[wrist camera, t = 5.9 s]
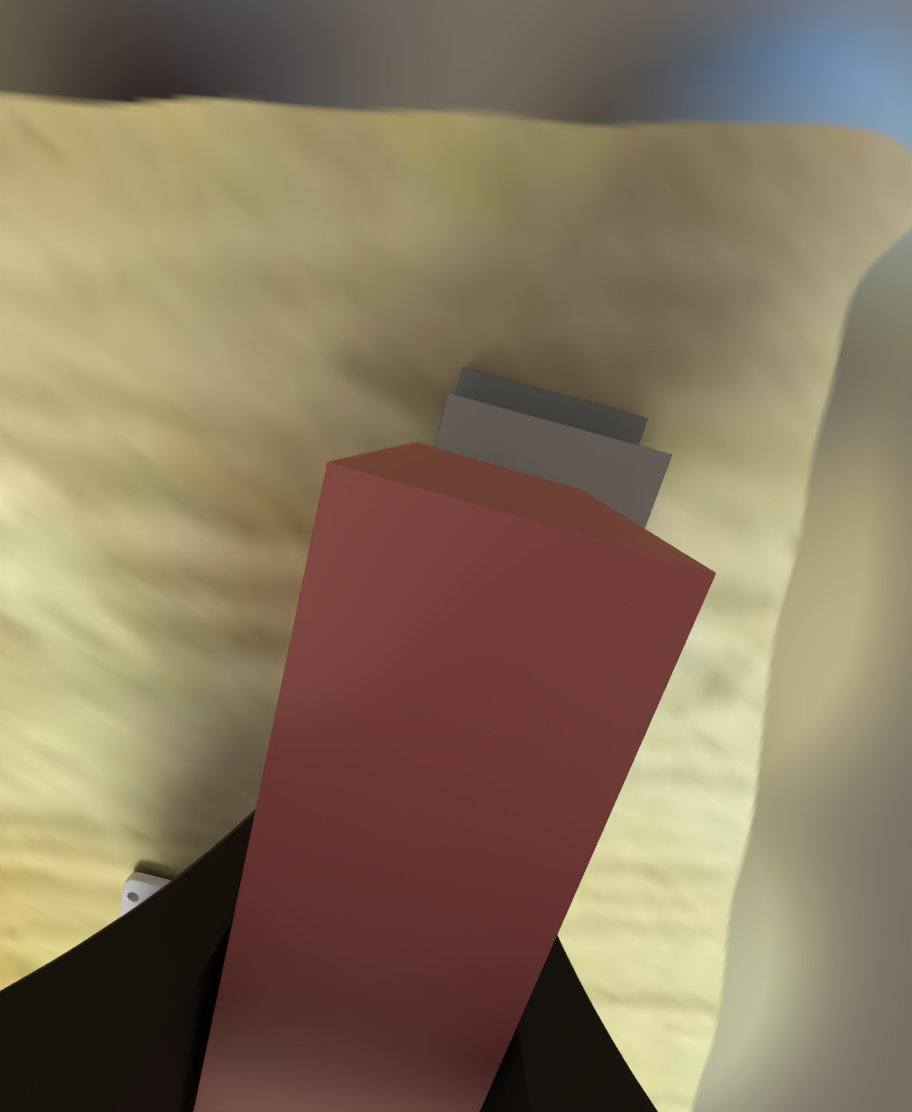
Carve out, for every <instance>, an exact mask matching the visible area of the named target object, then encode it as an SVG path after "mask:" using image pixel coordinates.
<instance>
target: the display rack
mask: <svg viewBox="0 0 912 1112" xmlns="http://www.w3.org/2000/svg"><path fill="white" fill-rule="evenodd" d="M647 420H648V418H645V417H641V416H638V415H634V414H630V413H627V412H623V411H620V410H616V409H612V408H609V407H605V406H601V405H598V404H594V403H590V402H587V401H583V400H580V399H576V398H572V397H569V396H565V395H561V394H558V393H554V392H550V391H547V390H543V389H540V388H536V387H532V386H529V385H525V384H521V383H518V382H514V381H511V380H507V379H503V378H500V377H496V376H492V375H489V374H485V373H481V372H478V371H474V370H471V369H467V368H462V372H461V376H460V380H459V384H458V388H457V392H456V395H453V394H449V393H448V395H447V399H446V403H445V407H444V411H443V415H442V419H441V423H440V428H439V432H438V436H437V440H436V444H435V448H438V449H442V450H445V451H449V452H452V453H456V454H459V455H463V456H466V457H470V458H473V459H477V460H480V461H484V462H487V463H491V464H494V465H498V466H501V467H505V468H508V469H511V470H515V471H518V472H522V473H525V474H529V475H532V476H536V477H539V478H543V479H546V480H550V481H553V482H557V483H560V484H564V485H567V486H571V487H574V488H578V489H581V490H583V491H584V492H586V493H588V494H589V495H591V496H592V497H594V498H596V499H597V500H599V501H600V502H602V503H604V504H605V505H607V506H609V507H610V508H612V509H613V510H615V511H617V512H618V513H620V514H621V515H623V516H625V517H626V518H628V519H630V520H631V521H633V522H634V523H636V524H638V525H639V526H641V527H642V528H644V529H645V526H646V524H647V521H648V518H649V516H650V513H651V510H652V507H653V505H654V502H655V499H656V497H657V494H658V491H659V489H660V486H661V483H662V481H663V478H664V475H665V473H666V470H667V467H668V464H669V462H670V459H671V456H672V454H668V453H665V452H661V451H657V450H654V449H650V448H646V447H643V446H639V442H640V440H641V437H642V434H643V431H644V428H645V425H646V423H647Z"/></svg>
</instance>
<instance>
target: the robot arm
mask: <svg viewBox="0 0 912 1112" xmlns="http://www.w3.org/2000/svg"><path fill="white" fill-rule="evenodd" d="M255 811H256V809H255V810H254V811H253V812H252V813H251V814H250V815H249V816H248V817H246V818H245V819H244V820H243V821H242V822H241V823H240V824H239V825H238V826H236V827H235V828H234V829H233V830H232V831H231V832H230V833H229V834H228V835H226V836H225V837H224V838H223V839H222V840H221V841H220V842H218V843H217V844H216V845H215V846H214V847H212V848H211V849H210V850H209V851H208V852H206V853H205V854H204V855H203V856H201V857H200V858H199V859H198V860H196V861H195V862H194V863H193V864H192V865H190V866H189V867H188V868H187V869H185V870H184V871H183V872H182V873H180V874H179V875H178V876H177V877H175V878H174V879H173V880H168V879H164V878H160V877H156V876H152V875H148V874H144V873H140V872H136V873H132V874H131V875H130V876H129V877H128V878H127V880H126V881H125V883H124V888H123V897H122V906H121V915H120V918H118V919H117V920H115V921H114V922H112V923H111V924H109V925H108V926H106V927H105V928H103V929H102V930H100V931H99V932H97V933H96V934H94V935H92V936H91V937H89V938H88V939H86V940H85V941H83V942H82V943H80V944H79V945H77V946H76V947H74V948H72V949H71V950H69V951H68V952H66V953H64V954H63V955H61V956H59V957H58V958H56V959H55V960H53V961H51V962H50V963H48V964H46V965H44V966H43V967H41V968H39V969H37V970H36V971H34V972H32V973H30V974H29V975H27V976H25V977H23V978H22V979H20V980H18V981H17V982H15V983H13V984H11V985H10V986H8V987H6V988H4V989H3V990H1V991H0V1112H194V1107H195V1102H196V1097H197V1093H198V1088H199V1083H200V1078H201V1073H202V1068H203V1063H204V1059H205V1054H206V1049H207V1044H208V1039H209V1034H210V1029H211V1025H212V1020H213V1015H214V1010H215V1005H216V1000H217V995H218V991H219V986H220V981H221V976H222V971H223V966H224V961H225V957H226V952H227V947H228V942H229V937H230V932H231V927H232V923H233V918H234V913H235V908H236V903H237V898H238V893H239V889H240V884H241V879H242V874H243V869H244V864H245V859H246V855H247V850H248V845H249V840H250V835H251V830H252V825H253V821H254V816H255ZM480 1112H658V1111H657V1110H656V1108H655V1107H654V1105H653V1104H652V1102H651V1100H650V1099H649V1097H648V1096H647V1094H646V1093H645V1091H644V1090H643V1088H642V1087H641V1085H640V1084H639V1082H638V1081H637V1079H636V1078H635V1076H634V1075H633V1073H632V1072H631V1070H630V1068H629V1067H628V1065H627V1063H626V1062H625V1060H624V1058H623V1057H622V1055H621V1053H620V1052H619V1050H618V1048H617V1047H616V1045H615V1043H614V1042H613V1040H612V1038H611V1037H610V1035H609V1033H608V1031H607V1030H606V1028H605V1026H604V1024H603V1023H602V1021H601V1019H600V1017H599V1016H598V1014H597V1012H596V1010H595V1009H594V1007H593V1005H592V1003H591V1001H590V999H589V997H588V996H587V994H586V992H585V990H584V988H583V986H582V984H581V982H580V980H579V978H578V976H577V974H576V972H575V970H574V968H573V966H572V964H571V962H570V960H569V958H568V956H567V954H566V952H565V950H564V948H563V946H562V944H561V942H560V940H559V937H558V935H557V936H556V939H555V941H554V943H553V946H552V948H551V950H550V952H549V955H548V957H547V959H546V961H545V964H544V966H543V968H542V971H541V973H540V975H539V977H538V980H537V982H536V984H535V986H534V989H533V991H532V993H531V996H530V998H529V1000H528V1002H527V1005H526V1007H525V1009H524V1012H523V1014H522V1016H521V1018H520V1021H519V1023H518V1025H517V1027H516V1030H515V1032H514V1034H513V1037H512V1039H511V1041H510V1043H509V1046H508V1048H507V1050H506V1052H505V1055H504V1057H503V1059H502V1062H501V1064H500V1066H499V1068H498V1071H497V1073H496V1075H495V1078H494V1080H493V1082H492V1084H491V1087H490V1089H489V1091H488V1093H487V1096H486V1098H485V1100H484V1103H483V1105H482V1107H481V1109H480Z"/></svg>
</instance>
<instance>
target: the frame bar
mask: <svg viewBox="0 0 912 1112" xmlns="http://www.w3.org/2000/svg"><path fill="white" fill-rule="evenodd" d="M715 574H716V573H715V572H714V571H712V570H710V569H709V568H707V567H705V566H704V565H702V564H701V563H699V562H697V561H696V560H694V559H693V558H691V557H689V556H688V555H686V554H684V553H683V552H681V551H680V550H678V549H676V548H675V547H673V546H672V545H670V544H668V543H667V542H665V541H663V540H662V539H660V538H659V537H657V536H655V535H654V534H652V533H651V532H649V531H647V530H646V529H644V528H642V527H641V526H639V525H638V524H636V523H634V522H633V521H631V520H630V519H628V518H626V517H625V516H623V515H621V514H620V513H618V512H617V511H615V510H613V509H612V508H610V507H609V506H607V505H605V504H604V503H602V502H600V501H599V500H597V499H596V498H594V497H592V496H591V495H589V494H588V493H586V492H584V491H583V490H581V489H578V488H574V487H571V486H567V485H564V484H560V483H557V482H553V481H550V480H546V479H543V478H539V477H536V476H532V475H529V474H525V473H522V472H518V471H515V470H511V469H508V468H505V467H501V466H498V465H494V464H491V463H487V462H484V461H480V460H477V459H473V458H470V457H466V456H463V455H459V454H456V453H452V452H449V451H445V450H442V449H438V448H435V447H432V446H428V445H425V444H421V443H418V442H415V443H411V444H406V445H402V446H397V447H393V448H388V449H384V450H379V451H375V452H370V453H366V454H361V455H357V456H352V457H348V458H344V459H339V460H335V461H330V462H327V466H326V471H325V476H324V481H323V486H322V490H321V495H320V500H319V505H318V510H317V515H316V520H315V524H314V529H313V534H312V539H311V544H310V549H309V554H308V558H307V563H306V568H305V573H304V578H303V583H302V588H301V592H300V597H299V602H298V607H297V612H296V617H295V622H294V626H293V631H292V636H291V641H290V646H289V651H288V656H287V660H286V665H285V670H284V675H283V680H282V685H281V690H280V694H279V699H278V704H277V709H276V714H275V719H274V724H273V728H272V733H271V738H270V743H269V748H268V753H267V758H266V762H265V767H264V772H263V777H262V782H261V787H260V792H259V796H258V801H257V806H256V811H255V816H254V821H253V825H252V830H251V835H250V840H249V845H248V850H247V855H246V859H245V864H244V869H243V874H242V879H241V884H240V889H239V893H238V898H237V903H236V908H235V913H234V918H233V923H232V927H231V932H230V937H229V942H228V947H227V952H226V957H225V961H224V966H223V971H222V976H221V981H220V986H219V991H218V995H217V1000H216V1005H215V1010H214V1015H213V1020H212V1025H211V1029H210V1034H209V1039H208V1044H207V1049H206V1054H205V1059H204V1063H203V1068H202V1073H201V1078H200V1083H199V1088H198V1093H197V1097H196V1102H195V1107H194V1112H480V1109H481V1107H482V1105H483V1103H484V1100H485V1098H486V1096H487V1093H488V1091H489V1089H490V1087H491V1084H492V1082H493V1080H494V1078H495V1075H496V1073H497V1071H498V1068H499V1066H500V1064H501V1062H502V1059H503V1057H504V1055H505V1052H506V1050H507V1048H508V1046H509V1043H510V1041H511V1039H512V1037H513V1034H514V1032H515V1030H516V1027H517V1025H518V1023H519V1021H520V1018H521V1016H522V1014H523V1012H524V1009H525V1007H526V1005H527V1002H528V1000H529V998H530V996H531V993H532V991H533V989H534V986H535V984H536V982H537V980H538V977H539V975H540V973H541V971H542V968H543V966H544V964H545V961H546V959H547V957H548V955H549V952H550V950H551V948H552V946H553V943H554V941H555V939H556V936H557V934H558V932H559V930H560V927H561V925H562V923H563V920H564V918H565V916H566V914H567V911H568V909H569V907H570V905H571V902H572V900H573V898H574V895H575V893H576V891H577V889H578V886H579V884H580V882H581V879H582V877H583V875H584V873H585V870H586V868H587V866H588V864H589V861H590V859H591V857H592V854H593V852H594V850H595V848H596V845H597V843H598V841H599V839H600V836H601V834H602V832H603V829H604V827H605V825H606V823H607V820H608V818H609V816H610V813H611V811H612V809H613V807H614V804H615V802H616V800H617V798H618V795H619V793H620V791H621V788H622V786H623V784H624V782H625V779H626V777H627V775H628V773H629V770H630V768H631V766H632V763H633V761H634V759H635V757H636V754H637V752H638V750H639V747H640V745H641V743H642V741H643V738H644V736H645V734H646V732H647V729H648V727H649V725H650V722H651V720H652V718H653V716H654V713H655V711H656V709H657V706H658V704H659V702H660V700H661V697H662V695H663V693H664V691H665V688H666V686H667V684H668V681H669V679H670V677H671V675H672V672H673V670H674V668H675V666H676V663H677V661H678V659H679V656H680V654H681V652H682V650H683V647H684V645H685V643H686V640H687V638H688V636H689V634H690V631H691V629H692V627H693V625H694V622H695V620H696V618H697V615H698V613H699V611H700V609H701V606H702V604H703V602H704V599H705V597H706V595H707V593H708V590H709V588H710V586H711V584H712V581H713V579H714V577H715Z"/></svg>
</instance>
